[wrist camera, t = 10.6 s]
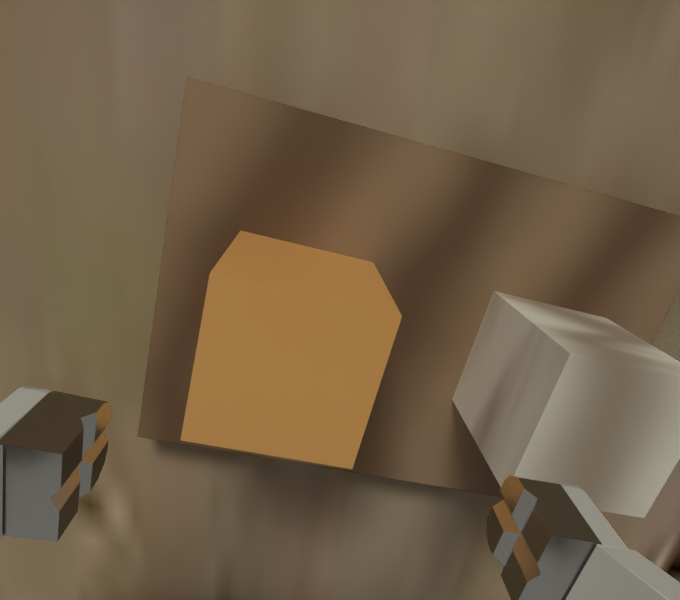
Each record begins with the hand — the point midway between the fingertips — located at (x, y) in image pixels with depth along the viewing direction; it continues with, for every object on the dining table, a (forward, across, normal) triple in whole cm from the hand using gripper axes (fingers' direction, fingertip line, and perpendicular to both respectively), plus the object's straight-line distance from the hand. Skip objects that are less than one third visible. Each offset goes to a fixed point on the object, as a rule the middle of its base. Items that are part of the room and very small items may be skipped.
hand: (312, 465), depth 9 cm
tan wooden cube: (+9, +1, 0) cm, 9 cm away
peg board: (+10, -4, 0) cm, 11 cm away
